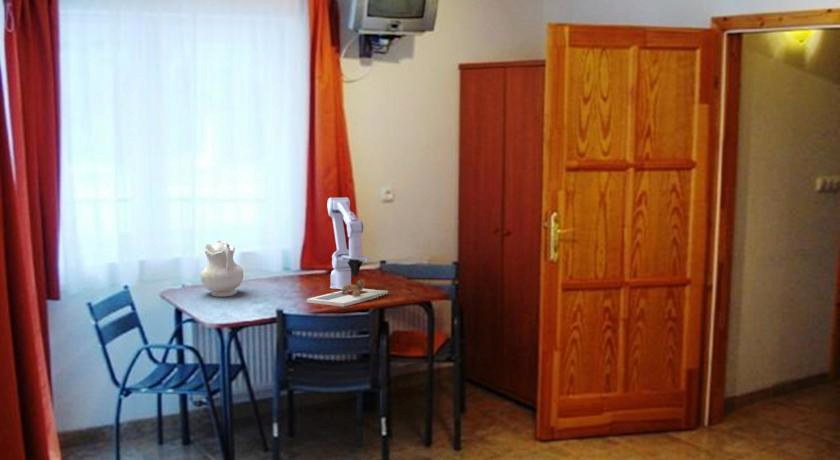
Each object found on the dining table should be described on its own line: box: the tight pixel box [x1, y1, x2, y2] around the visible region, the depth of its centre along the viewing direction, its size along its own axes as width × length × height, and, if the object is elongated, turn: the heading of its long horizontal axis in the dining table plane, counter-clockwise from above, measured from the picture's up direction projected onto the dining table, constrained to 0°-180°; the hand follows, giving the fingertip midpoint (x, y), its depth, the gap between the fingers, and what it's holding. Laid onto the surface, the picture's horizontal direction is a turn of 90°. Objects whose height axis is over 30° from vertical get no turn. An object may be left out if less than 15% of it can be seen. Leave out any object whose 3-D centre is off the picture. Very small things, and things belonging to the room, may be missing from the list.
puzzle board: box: [306, 288, 388, 308], centre depth 364 cm, size 20×36×2 cm, turn 149°
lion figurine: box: [341, 279, 366, 295], centre depth 370 cm, size 12×4×7 cm, turn 116°
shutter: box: [352, 289, 389, 299], centre depth 363 cm, size 6×20×3 cm, turn 149°
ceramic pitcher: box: [200, 240, 244, 297], centre depth 370 cm, size 22×20×25 cm
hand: (355, 276), depth 369 cm, fingers closed
